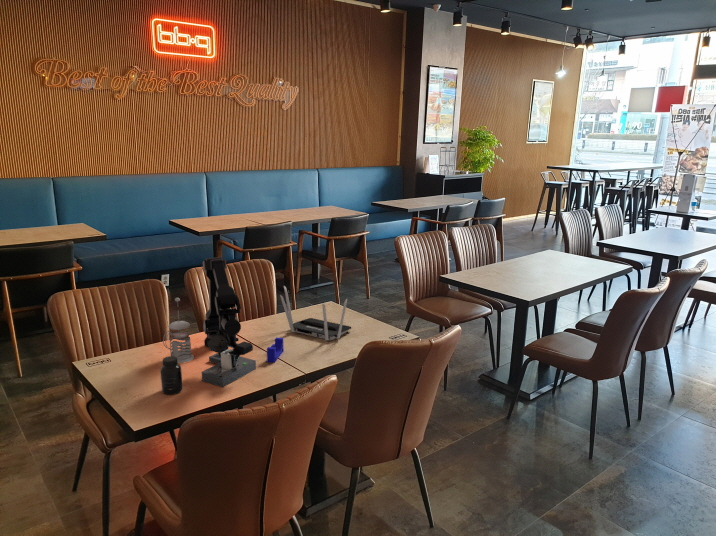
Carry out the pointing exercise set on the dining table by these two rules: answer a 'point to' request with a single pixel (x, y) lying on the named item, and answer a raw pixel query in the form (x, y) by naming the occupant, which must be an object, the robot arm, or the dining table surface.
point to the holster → (215, 358)
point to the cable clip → (275, 350)
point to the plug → (226, 360)
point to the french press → (185, 352)
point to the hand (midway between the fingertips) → (229, 366)
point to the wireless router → (316, 323)
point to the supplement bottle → (171, 376)
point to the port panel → (228, 372)
